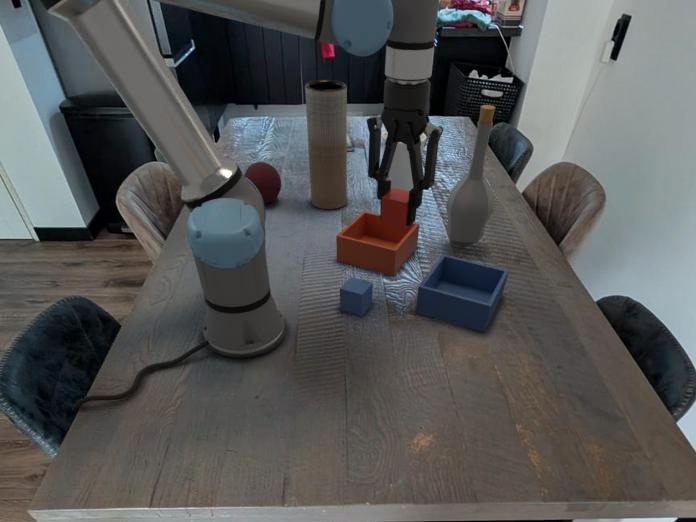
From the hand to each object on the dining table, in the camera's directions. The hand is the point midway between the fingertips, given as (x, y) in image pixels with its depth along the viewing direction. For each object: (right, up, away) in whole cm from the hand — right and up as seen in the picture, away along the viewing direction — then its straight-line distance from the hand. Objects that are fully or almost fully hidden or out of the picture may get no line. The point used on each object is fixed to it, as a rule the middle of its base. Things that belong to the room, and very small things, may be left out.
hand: (397, 219), depth 93 cm
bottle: (+18, +3, +24) cm, 30 cm away
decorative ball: (-34, +21, +39) cm, 56 cm away
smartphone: (-15, +56, +72) cm, 93 cm away
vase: (-16, +21, +40) cm, 48 cm away
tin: (+10, +55, +72) cm, 91 cm away
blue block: (-8, -16, +5) cm, 19 cm away
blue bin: (+14, -15, +7) cm, 21 cm away
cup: (+4, +24, +43) cm, 50 cm away
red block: (0, 0, 0) cm, 0 cm away
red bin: (-3, 0, +20) cm, 21 cm away
